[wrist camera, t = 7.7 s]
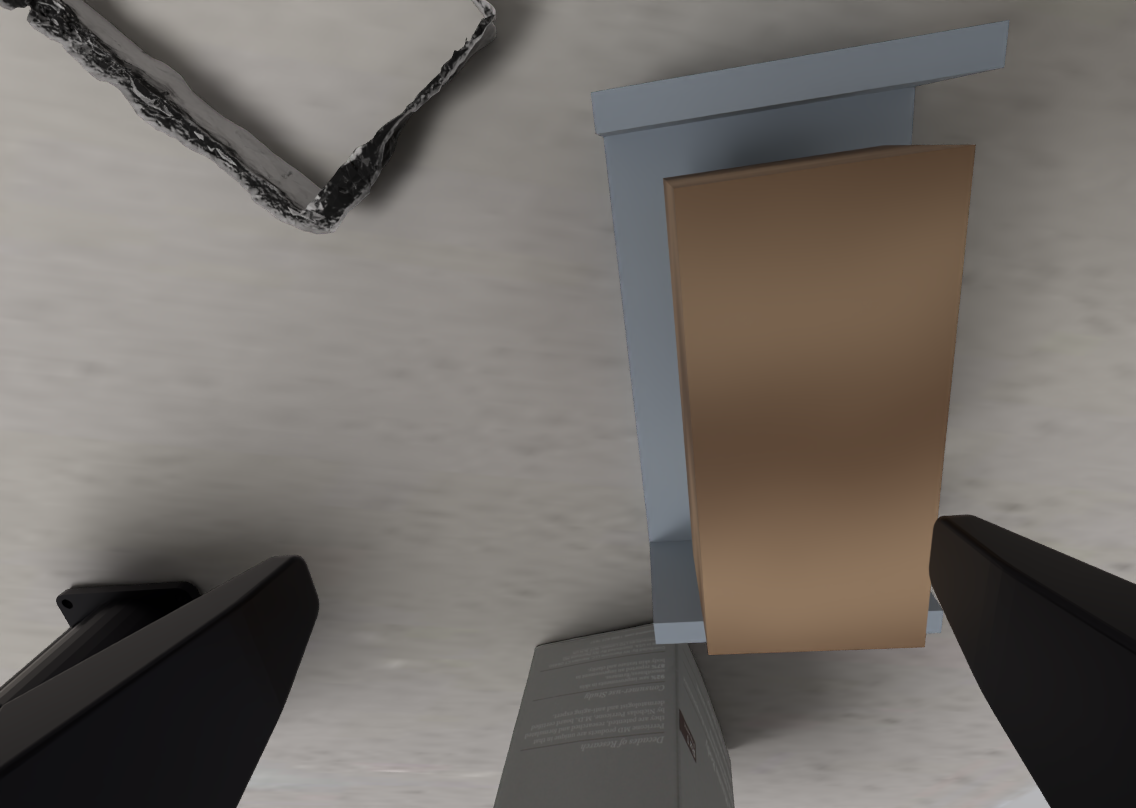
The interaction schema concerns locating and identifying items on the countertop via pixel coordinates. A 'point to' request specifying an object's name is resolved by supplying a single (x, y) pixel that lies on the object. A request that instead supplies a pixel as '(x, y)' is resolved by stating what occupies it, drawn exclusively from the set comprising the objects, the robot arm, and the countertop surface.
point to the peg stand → (719, 141)
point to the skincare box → (616, 729)
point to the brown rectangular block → (817, 389)
